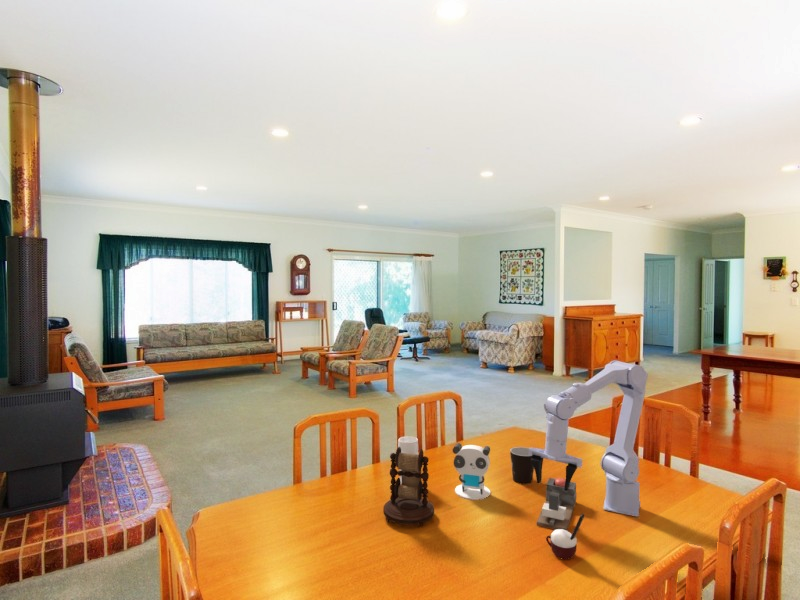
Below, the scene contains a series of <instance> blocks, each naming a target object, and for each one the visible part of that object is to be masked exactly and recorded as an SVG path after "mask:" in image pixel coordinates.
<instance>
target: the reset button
mask: <svg viewBox="0 0 800 600" xmlns="http://www.w3.org/2000/svg"><path fill="white" fill-rule="evenodd" d="M554 479H555V485H556V486H561V487H565V481H566V478H562V477H557V478H554Z"/></svg>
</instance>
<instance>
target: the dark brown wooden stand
mask: <svg viewBox="0 0 800 600" xmlns="http://www.w3.org/2000/svg"><path fill="white" fill-rule="evenodd" d="M389 458H390V462H391V465H390V470H389V476H390V478H391V479H390V486H389V490H390V494H391V495H390V497H389V500H387V501H386V502H385V503H384V505H383V508H382V509H383V516H385V518H386V522H388V523H390V521H391V522H393V523H396V524H401V525H419V527H420V528H422V527H423V525H424V523H425V522H427V521H430V520H431V519H432V518H433V517H434V515H435V506H434V504H433V503H432V502H431V501H429V500H428V499H427V498H428V494H429V489H428V480H429V477H430V475H429V472H428V471H429V469H428V464H429V457H428V456H426V455H425V456H424V450H423V449H420V450H419V451H418V455H417V454H408V453H401V448H400V447H398V446H397V448H396V451H395V452H391V453H390V455H389ZM396 468H397V469H398V470H397V469H396ZM400 469H401V471H400ZM397 476H399V477H398V478H397V479H396V477H397ZM400 476H402V484H401V482H400Z"/></svg>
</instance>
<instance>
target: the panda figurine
mask: <svg viewBox="0 0 800 600" xmlns="http://www.w3.org/2000/svg"><path fill="white" fill-rule="evenodd" d="M452 453H453V454H455V456H454V457H453V458H454V459H453V466H454V469H455V471H456V472H458V474H459V476H458V479H459V481H460V482H461V484H458V485H456V487H455V489H454V493H455V494H456V495H457V496H458V497H461V498H463V499H466V500H471V501H472V500H473V501H479V499H480V500H484V498H485V499H487V498H488V496H489V495H490V496H491V490H490V489H489V488H488V487H487V486H485V475H486V474H487V471H488V469H489V467H490V464H491V463H490V456H489V455H490V453H491V447H490V446H488V445H486V446H484V447H482V446H479V445H475V444H465V445H463V444H461V442H457V443H456V444H455V445H454V446H453V448H452ZM486 497H487V498H486Z"/></svg>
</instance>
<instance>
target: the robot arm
mask: <svg viewBox="0 0 800 600" xmlns="http://www.w3.org/2000/svg"><path fill="white" fill-rule="evenodd" d="M648 376H649V374H648V373H647V371H646V370H645V368H644V367H643V366H642V365H639V364H634V363H628V362H624V361H620V360H617V359H614V360H611V361H610V362H609V363H607V364H605V365H604V368H603V369H602V370H601V371H600V372H598V373H596V374H595V375H594V376H592V377H591V378H589V379H588V380H587V381H586V382H584V383H583V382H573V383H572V386H570V387H569V388H567V389H565V390H563V391H560V392H559V393H558V395H557V394H552V395H550V396H549V397H548V398H547V399H546V401H545V403H544V404H543V409H544V411H545V412H546V414H545V415H546V420H547V421H546V432H545V443H544V448H536V447H532V446H530V447H528V448H529V454H528V455H529V456H532V458H531V462H532V464H533V467H534V472H535V473H534V474H535V478H536V483H537V484H541V482H542V477H543V475H542V473H543V463H544V459H545V460H549V461H555V462H558V463H563V464H567V465H566V466H565V479H566V481H565V488H564V490H565V491H567V490H568V488H569V484H570V482H572V478H573V476H574V474H575V472H576V470H577V469H578V468H579V469H580V468H582V466H583V458H579V457H577V456H576V457H575V456H573V455H570V454H567V442H568V431H569V430H568V429H569V422H570V421H569V420H570V419H571V418H572V417H573V416H574V413H575V411H577V409H578V408H580V407H582V406H583V405H584V404H586V403H587V402H589V401H590V400H591V399H592V396H593V395H592V394H594V393H596V392H598V391H599V390H602V389H604V388H605V387H607V386H609V385H611V384H615V385H617V386H618V387H619V389H621V391H622V393H623V399H622V403H621V407H620V411H619V415H618V416H619V417H618V422H617V425H616V430H615V436H614V441H613V443H612V444H610V445H609V446H607V447H606V448H605V452H604V454H603V455H602V457H601V458H600V466H601V469H602V471H604V475H605V476H606V477H605V480H606V481H605V498H604V502H603V507H602V508H603V510H604V511H608V512H613V513H617V514H623V515H628V516H633V517H640V513H639V512H640V508H641V500H640V489H641V487H640V485H641V483H640V481H636V480H637V479H638V478H639V474H640V467H639V463H640V458H639V457H638V455H637V453H636V452H635V451H634V447H635V443H636V437H637V433H638V430H639V429H638V427H639V423H640V418H641V414H642V409H643V406H644V405H643V403H644V400H645V396H646V385H647V381H648Z"/></svg>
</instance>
